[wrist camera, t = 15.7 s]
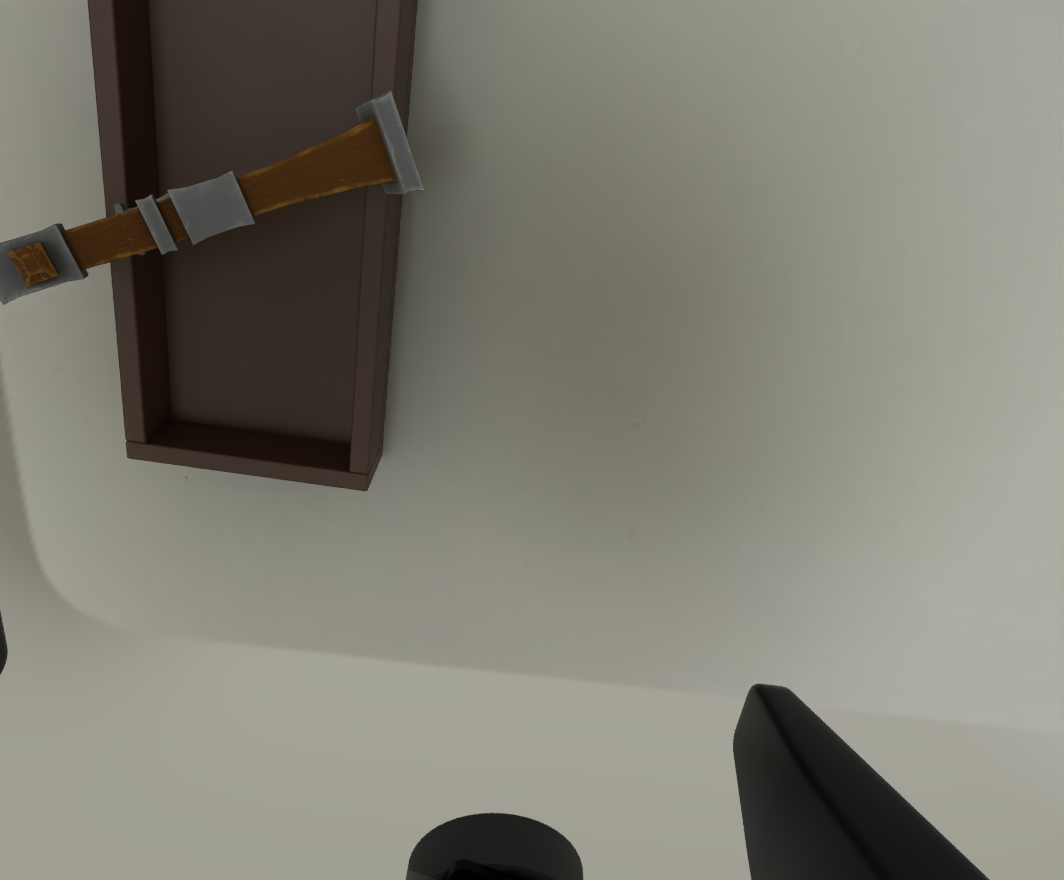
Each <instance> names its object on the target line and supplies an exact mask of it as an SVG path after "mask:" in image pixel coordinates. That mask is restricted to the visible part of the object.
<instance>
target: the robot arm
mask: <svg viewBox="0 0 1064 880" xmlns="http://www.w3.org/2000/svg"><path fill="white" fill-rule="evenodd" d="M6 659H7V643H6V638H5V633H4V627H3V622H2V617H1V612H0V674H1V672H2V670H3V668H4V666H5V663H6ZM733 752H734V760H735V767H736V775H737V782H738V788H739V796H740V804H741V811H742V818H743V825H744V833H745V840H746V847H747V854H748V861H749V867H750V873H751V879H752V880H989V879H988V878H987V877H986V876H985V875H984V874H983V873H982V872H981V871H980V870H979V869H978V868H977V867H976V866H975V865H974V864H973V863H971V862H970V861H969V860H968V859H967V858H966V857H965V856H964V855H963V854H962V853H961V852H960V851H959V850H958V849H957V848H956V847H955V846H954V845H953V844H952V843H950V842H949V841H948V840H947V839H946V838H945V837H944V836H943V835H942V834H941V833H940V832H939V831H938V830H937V829H936V828H935V827H934V826H933V825H932V824H931V823H929V822H928V821H927V820H926V819H925V818H924V817H923V816H922V815H921V814H920V813H919V812H918V811H917V810H916V809H915V808H914V807H913V806H911V804H909V803H908V802H907V801H906V800H905V799H904V798H903V797H902V796H901V795H900V794H899V793H898V792H897V791H896V790H895V789H894V788H893V787H892V786H891V785H890V784H888V783H887V782H886V781H885V780H884V779H883V778H882V777H881V776H880V775H879V774H878V773H877V772H876V771H875V770H874V769H873V768H872V767H870V765H868V764H867V763H866V762H865V761H864V760H863V759H862V758H861V757H860V756H859V755H858V754H857V753H856V752H855V751H854V750H853V749H852V748H851V747H850V746H849V745H847V744H846V743H845V742H844V741H843V740H842V739H841V738H840V737H839V736H838V735H837V734H836V733H835V732H834V731H833V730H832V729H831V728H830V727H829V726H828V725H826V724H825V723H824V722H823V721H822V720H821V719H820V718H819V717H818V716H817V715H816V714H815V713H814V712H813V711H812V710H811V709H810V708H809V707H808V706H807V705H805V704H804V703H803V702H802V701H801V700H800V699H799V698H798V697H797V696H796V695H795V694H794V693H793V692H792V691H790V690H789V689H788V688H786V687H782V686H775V685H766V684H756V685H753V686H752V687H751V689H750V690H749V692H748V695H747V698H746V701H745V703H744V707H743V709H742V712H741V715H740V718H739V721H738V724H737V727H736V730H735V733H734V740H733ZM441 880H523V879H520V878H518V877H515V876H512V875H509V874H506V873H504V872H501V871H498V870H495V869H492V868H489V867H487V866H484V865H481V864H478V863H475V862H473V861H470V860H465V859H463V860H458V861H456V862H454V863H453V864H452V866H451V867H450V868H449V870H448V871H447V872H446V874H445V875H444V876H443V878H442V879H441Z"/></svg>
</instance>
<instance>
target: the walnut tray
mask: <svg viewBox="0 0 1064 880" xmlns="http://www.w3.org/2000/svg"><path fill="white" fill-rule="evenodd" d="M88 9H89V21H90V32H91V44H92V56H93V67H94V79H95V90H96V102H97V113H98V125H99V137H100V148H101V160H102V171H103V183H104V194H105V206H106V218H107V217H110V216H114V215H115V206H114V205H115V204H118V203H123V202H124V204H125V206H126V208H127V209H129V208H135V207H137V206H138V205H137V203H136V201H135V200H141V199H145V198H147V197H149V196H150V195H151V194H153V195H154V197H155V199H158V198H161V197H162V196H164V195H165V194H167V193H168V191H167V190H171V189H179V188H186V187H189V186H192V185H196V184H199V183H202V182H206V181H209V180H212V179H216V178H218V177H220V176H222V175H224V174H226V173H228V172H230V171H232V172H233V174H234V176H235V178H236V177H239V176H242V175H245V174H247V173H250V172H253V171H256V170H259V169H262V168H265V167H267V166H270V165H272V164H275V163H277V162H279V161H281V160H284V159H286V158H288V157H290V156H293V155H295V154H297V153H299V152H302V151H304V150H306V149H308V148H311V147H313V146H315V145H317V144H319V143H322V142H324V141H326V140H328V139H331V138H333V137H335V136H337V135H338V134H340V133H342V132H344V131H346V130H347V129H349V128H351V127H353V126H355V125H356V124H358V123H360V120H359V117H358V115H357V112H356V109H355V108H357V107H358V106H360V105H362V104H364V103H366V102H368V101H370V100H372V99H376V98H377V97H379V96H381V95H383V94H385V93H387V92H389V91H391V93H392V96H393V99H394V102H395V105H396V108H397V111H398V114H399V117H400V120H401V122H402V125H403V128H404V131H405V134H406V137H407V127H408V115H409V102H410V89H411V76H412V64H413V51H414V38H415V25H416V13H417V0H88ZM401 204H402V194H386V193H385V190H384V187H383V185H382V183H379V184H373V185H367V186H361V187H357V188H353V189H349V190H345V191H341V192H337V193H333V194H329V195H325V196H321V197H317V198H313V199H309V200H305V201H301V202H297V203H293V204H289V205H286V206H283V207H280V208H277V209H274V210H271V211H268V212H265V213H262V214H259V215H256V216H253V217H252V218H253V220H254V222H255V224H251V225H245V226H239V227H236V228H233V229H230V230H227V231H224V232H221V233H218V234H215V235H213V236H210V237H207V238H205V239H204V240H202V241H200V242H198V243H196V244H194V245H193V244H192V241H191V239H190V238H188V239H185V240H181V241H178V242H177V244H178V247H179V248H178V251H176V250H173V251H168V252H166V253H165V254H163V255H162V254H161V252H160V250H159V248H155V249H152V250H148V251H147V252H146V254H144V255H141V256H140V255H139V254H135V255H131V256H128V257H125V258H121V259H118V260H115V261H111V262H110V264H111V275H112V287H113V299H114V310H115V322H116V333H117V345H118V356H119V368H120V379H121V391H122V403H123V414H124V426H125V437H126V440H127V441H126V449H127V457H128V458H130V459H137V460H144V461H151V462H159V463H166V464H173V465H180V466H188V467H195V468H202V469H209V470H217V471H224V472H231V473H238V474H245V475H253V476H260V477H267V478H274V479H282V480H289V481H296V482H303V483H311V484H318V485H325V486H332V487H339V488H347V489H354V490H361V491H367V490H368V488H369V485H370V483H371V480H372V478H373V476H374V473H375V471H376V468H377V466H378V463H379V461H380V459H381V456H382V446H383V433H384V421H385V408H386V395H387V382H388V370H389V357H390V344H391V331H392V319H393V306H394V293H395V280H396V268H397V255H398V242H399V229H400V217H401Z"/></svg>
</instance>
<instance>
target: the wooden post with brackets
mask: <svg viewBox="0 0 1064 880" xmlns="http://www.w3.org/2000/svg"><path fill="white" fill-rule="evenodd" d="M355 109H356V112H357V115H358V117H359V120H360V123H358V124H356V125H355V126H353V127H351V128H349V129H347V130H346V131H344V132H342V133H340V134H338V135H337V136H335V137H333V138H331V139H328V140H326V141H324V142H322V143H319V144H317V145H315V146H313V147H311V148H308V149H306V150H304V151H302V152H299V153H297V154H295V155H293V156H290V157H288V158H286V159H284V160H281V161H279V162H277V163H275V164H272V165H270V166H267V167H265V168H262V169H259V170H256V171H253V172H250V173H247V174H245V175H242V176H239V177H236V178H235V176H234V174H233V172H232V171H230V172H228V173H226V174H224V175H222V176H220V177H218V178H216V179H212V180H209V181H206V182H202V183H199V184H196V185H192V186H189V187H186V188H179V189H171V190H167V191H168V193H167V194H165V195H164V196H162V197H161V198H158V199H155V197H154V195H153V194H151V195H150V196H149V197H147V198H145V199H141V200H135V201H136V203H137V205H138V206H137V207H135V208H129V209H127V208H126V206H125V204H124V202H123V203H118V204H115V205H114V206H115V215H114V216H110V217H107V218H104V219H101V220H98V221H94V222H91V223H88V224H85V225H81V226H78V227H75V228H72V229H69V230H65V229H64V227H63V225H62V224H54V225H52V226H50V227H48V228H46V229H44V230H42V231H39V232H36V233H32V234H29V235H26V236H22V237H19V238H16V239H12V240H9V241H6V242H2V243H0V300H1V301H2V303H3V305H4V304H6V303H8V302H10V301H12V300H14V299H16V298H18V297H21V296H24V295H27V294H30V293H33V292H36V291H40V290H43V289H46V288H49V287H52V286H55V285H58V284H61V283H64V282H68V281H74V280H80V279H84V278H86V277H87V276H88V273H87V271H86V269H88V268H91V267H94V266H98V265H101V264H104V263H108V262H111V261H115V260H118V259H121V258H125V257H128V256H131V255H135V254H139V255H140V256H141V255H144V254H146V252H147V251H148V250H152V249H155V248H159V250H160V252H161V254H162V255H163V254H165V253H166V252H168V251H173V250H176V251H178V248H179V247H178V244H177V242H178V241H181V240H185V239H188V238H190V239H191V241H192V244H193V245H194V244H196V243H198V242H200V241H202V240H204V239H205V238H207V237H210V236H213V235H215V234H218V233H221V232H224V231H227V230H230V229H233V228H236V227H239V226H245V225H251V224H255V222H254V220H253V218H252V217H253V216H256V215H259V214H262V213H265V212H268V211H271V210H274V209H277V208H280V207H283V206H286V205H289V204H293V203H297V202H301V201H305V200H309V199H313V198H317V197H321V196H325V195H329V194H333V193H337V192H341V191H345V190H349V189H353V188H357V187H361V186H367V185H373V184H379V183H382V185H383V187H384V190H385V193H386V194H406V193H407V192H409V191H413V190H420V191H424V188H423V185H422V182H421V179H420V176H419V173H418V170H417V167H416V164H415V161H414V158H413V155H412V152H411V149H410V146H409V143H408V140H407V137H406V134H405V131H404V128H403V125H402V122H401V120H400V117H399V114H398V111H397V108H396V105H395V102H394V99H393V96H392V93H391V91H389V92H387V93H385V94H383V95H381V96H379V97H377V98H376V99H372V100H370V101H368V102H366V103H364V104H362V105H360V106H358V107H357V108H355Z"/></svg>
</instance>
